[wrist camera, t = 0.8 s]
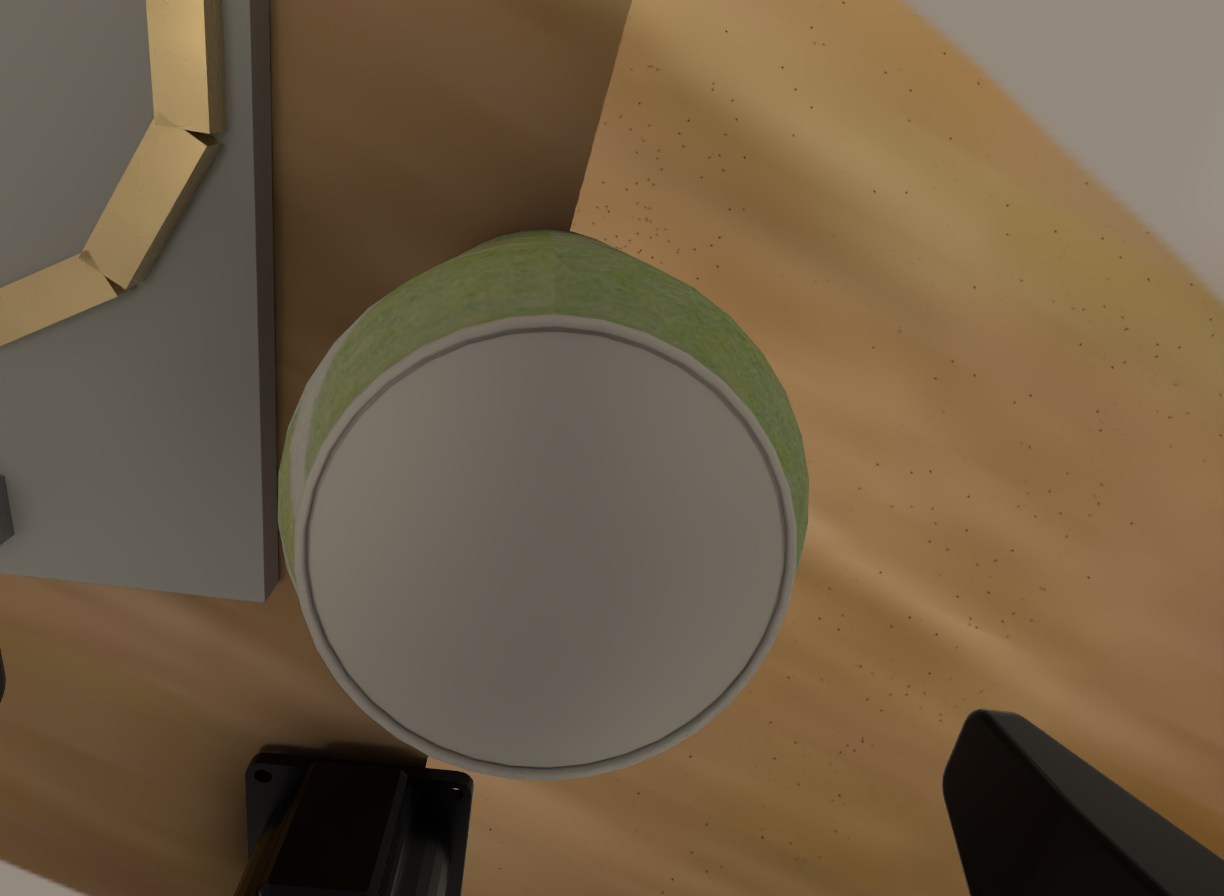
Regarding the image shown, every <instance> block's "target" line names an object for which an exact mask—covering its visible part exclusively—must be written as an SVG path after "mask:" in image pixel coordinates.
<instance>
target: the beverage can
mask: <svg viewBox="0 0 1224 896" xmlns="http://www.w3.org/2000/svg"><path fill="white" fill-rule="evenodd" d="M808 490H809V478H808V472H807V466H806V459H805V453H804V447H803V441H802V435H801V433H800V430H799V427H798V424H797V422H796V419H795V416H794V413H793V411H792V408H791V405H790V402H789V400H788V397H787V394H786V391H785V390H784V388H783V386H782V385H781V383H780V381H779V380H778V378H777V376H776V375H775V373H774V371H773V370H772V368H771V366H770V365H769V363H768V361H767V359H766V358H765V356H764V354H763V353H762V352H761V351H760V349H759V348H758V347H757V346H756V345H755V344H754V343H753V341H752V340H751V339H750V338H749V337H748V336H747V335H746V333H745V332H744V331H743V330H742V329H741V328H740V327H739V325H738V324H737V323H736V322H735V321H734V320H733V319H732V317H730V316H729V315H728V314H727V313H725V312H724V311H723V310H722V309H720V308H719V307H718V306H716V305H715V304H714V303H713V302H711V301H710V300H709V299H708V298H706V297H705V296H704V295H702V294H701V293H700V292H699V291H697V290H696V289H695V288H693V287H691V286H690V285H688V284H686V283H684V282H682V281H680V280H678V279H676V278H674V277H672V276H671V275H669V274H667V273H665V272H663V271H661V270H659V269H657V268H655V267H653V266H652V265H649V264H647V263H645V262H643V261H641V260H639V259H637V258H635V257H633V256H630V255H628V254H626V253H624V252H622V251H620V250H618V249H616V248H614V247H611V246H609V245H607V244H605V243H603V242H601V241H599V240H597V239H594V238H591V237H587V236H584V235H581V234H578V233H575V232H570V231H562V230H554V229H533V230H521V231H517V232H513V233H509V234H505V235H500V236H498V237H495V238H493V239H491V240H489V241H486V242H484V243H482V244H479V245H477V246H475V247H473V248H471V249H469V250H467V251H465V252H463V253H461V254H459V255H457V256H455V257H453V258H451V259H449V260H447V261H445V262H443V263H441V264H439V265H437V266H435V267H433V268H431V269H429V270H427V271H426V272H424V273H422V274H420V275H418V276H416V277H414V278H412V279H410V280H408V281H407V282H405V283H404V284H402V285H401V286H399V287H398V288H397V289H395V290H394V291H392V292H391V293H389V294H388V295H386V296H385V297H383V298H382V299H381V300H379V301H378V302H376V303H375V304H373V305H372V306H370V307H369V308H368V309H367V310H366V311H365V312H364V313H363V314H362V315H361V316H360V317H359V318H358V319H357V320H356V321H355V322H354V323H353V324H352V325H351V326H350V327H349V328H348V329H347V330H346V331H345V332H344V333H343V334H342V335H341V336H340V337H339V338H338V339H337V340H336V341H335V342H334V343H333V345H332V346H331V348H330V349H329V351H328V352H327V354H326V355H325V357H324V358H323V360H322V361H321V363H320V364H319V366H318V367H317V369H316V370H315V372H314V373H313V375H312V376H311V378H310V379H309V381H308V382H307V384H306V386H305V389H304V391H303V393H302V396H301V398H300V400H299V403H298V405H297V408H296V410H295V412H294V415H293V417H292V419H291V422H290V424H289V427H288V430H287V435H286V440H285V445H284V450H283V454H282V459H281V464H280V469H279V473H278V524H279V530H280V536H281V541H282V547H283V552H284V558H285V563H286V567H287V570H288V573H289V575H290V578H291V580H292V583H293V586H294V588H295V591H296V593H297V596H298V599H299V601H300V605H301V610H302V613H303V615H304V618H305V620H306V623H307V626H308V628H309V631H310V634H311V636H312V639H313V641H314V644H315V647H316V649H317V650H318V652H319V654H320V655H321V657H322V658H323V660H324V662H325V663H326V665H327V667H328V668H329V670H330V671H331V673H332V675H333V676H334V678H335V680H336V681H337V683H338V684H339V685H340V686H341V687H342V688H343V689H344V690H345V692H346V693H347V694H348V695H349V696H350V697H351V698H352V699H353V701H354V702H355V703H356V704H357V705H358V706H359V707H360V708H361V709H362V711H363V712H364V713H366V714H367V715H368V716H369V717H371V718H372V719H373V720H374V721H376V722H377V723H378V724H379V725H381V726H382V727H383V728H384V729H386V730H387V731H388V732H389V733H391V734H392V735H393V736H394V737H396V738H397V739H399V740H401V741H403V742H405V743H406V744H408V745H410V746H412V747H414V748H415V749H417V750H419V751H421V752H423V753H424V754H426V755H428V756H430V757H432V758H435V759H438V760H440V761H443V762H446V763H448V764H451V765H454V766H457V767H459V768H462V769H465V770H468V771H472V772H477V773H482V774H487V775H492V776H497V777H502V778H507V779H522V780H543V781H551V780H561V779H571V778H581V777H590V776H594V775H598V774H602V773H606V772H610V771H614V770H618V769H622V768H625V767H629V766H631V765H633V764H636V763H638V762H641V761H643V760H645V759H648V758H650V757H653V756H655V755H658V754H660V753H662V752H665V751H666V750H668V749H669V748H671V747H673V746H674V745H676V744H678V743H679V742H681V741H683V740H684V739H686V738H688V737H689V736H691V735H693V734H694V733H696V732H698V731H699V730H700V729H701V728H702V727H704V726H705V725H706V724H707V723H708V722H710V721H711V720H712V719H713V718H714V717H716V716H717V715H718V714H719V713H720V712H721V711H723V710H724V709H725V708H726V707H727V706H728V705H729V704H730V703H731V702H732V701H733V700H734V698H735V697H736V696H737V695H738V694H739V693H740V692H741V690H742V689H743V688H744V687H745V686H746V685H747V683H748V682H749V681H750V680H751V679H752V678H753V676H754V675H755V673H756V672H757V670H758V668H759V667H760V665H761V664H762V662H763V660H764V659H765V657H766V655H767V654H768V652H769V650H770V649H771V647H772V645H773V644H774V642H775V639H776V637H777V634H778V632H779V629H780V627H781V624H782V622H783V619H784V616H785V614H786V611H787V609H788V606H789V601H790V596H791V591H792V586H793V581H794V578H795V576H796V573H797V571H798V568H799V564H800V559H801V554H802V549H803V544H804V540H805V535H806V530H807V525H808Z"/></svg>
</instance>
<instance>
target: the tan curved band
mask: <svg viewBox="0 0 1224 896" xmlns="http://www.w3.org/2000/svg"><path fill="white" fill-rule="evenodd" d="M146 10H147V24H148V38H149V52H150V66H151V80H152V94H153V108H154V118H153V120H152V122H151V124H150V126H149V128H148V129H147V131H146V133H145V135H144V137H143V139H142V141H141V142H140V144H139V146H138V148H137V150H136V152H135V154H134V156H133V157H132V159H131V161H130V163H129V165H128V167H127V169H126V170H125V172H124V174H123V176H122V178H121V180H120V182H119V184H118V185H117V187H116V189H115V191H114V193H113V195H112V197H111V198H110V200H109V202H108V204H107V206H106V208H105V210H104V211H103V213H102V215H101V217H100V219H99V221H98V223H97V225H96V226H95V228H94V230H93V232H92V234H91V236H90V238H89V239H88V241H87V243H86V245H85V247H84V249H83V251H82V252H81V253H80V254H77V255H75V256H73V257H71V258H68V259H66V260H64V261H61V262H59V263H57V264H55V265H52V266H50V267H48V268H45V269H43V270H41V271H38V272H36V273H34V274H32V275H29V276H27V277H25V278H22V279H20V280H18V281H16V282H13V283H11V284H9V285H6V286H4V287H2V288H0V346H2V345H4V344H7V343H9V342H11V341H14V340H16V339H18V338H21V337H23V336H25V335H28V334H30V333H33V332H35V331H37V330H40V329H42V328H44V327H47V326H49V325H51V324H54V323H56V322H58V321H61V320H63V319H66V318H68V317H70V316H73V315H75V314H77V313H80V312H82V311H84V310H87V309H89V308H91V307H94V306H96V305H99V304H101V303H103V302H106V301H108V300H110V299H113V298H115V297H117V296H120V295H122V294H124V293H126V292H128V291H131V290H133V289H135V288H137V284H139V283H141V282H143V281H145V280H146V279H147V277H148V275H149V273H150V272H151V270H152V268H153V267H154V265H155V263H156V261H157V260H158V258H159V256H160V254H161V253H162V251H163V249H164V247H165V246H166V244H167V242H168V240H169V239H170V237H171V235H172V233H173V232H174V230H175V228H176V227H177V225H178V223H179V221H180V220H181V218H182V216H183V214H184V213H185V211H186V209H187V207H188V206H189V204H190V202H191V200H192V199H193V197H194V195H195V193H196V192H197V190H198V188H199V187H200V185H201V183H202V181H203V180H204V178H205V176H206V174H207V173H208V171H209V169H210V167H211V166H212V164H213V162H214V160H215V159H216V157H217V155H218V154H219V152H220V150H221V148H222V147H223V145H224V143H223V142H222V141H220V140H219V139H218V138H216V137H215V136H214V135H212V134H211V133H219V132H226V131H227V116H226V89H225V62H224V35H223V9H222V0H146ZM14 534H15V533H14V527H13V521H12V515H11V510H10V504H9V498H8V492H7V486H6V480H5V476H3V475H0V545H2V544H3V543H4V542H5V541H7V540H8V539H9V538H11V537H12V536H13V535H14Z"/></svg>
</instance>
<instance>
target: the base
mask: <svg viewBox="0 0 1224 896" xmlns="http://www.w3.org/2000/svg"><path fill="white" fill-rule="evenodd" d="M222 9H223V35H224V62H225V89H226V116H227V131H226V132H219V133H211V134H212V135H214V136H215V137H216V138H218V139H219V140H220V141H222V142H223V143H224V145H223V147H222V148H221V150H220V152H219V154H218V155H217V157H216V159H215V160H214V162H213V164H212V166H211V167H210V169H209V171H208V173H207V174H206V176H205V178H204V180H203V181H202V183H201V185H200V187H199V188H198V190H197V192H196V193H195V195H194V197H193V199H192V200H191V202H190V204H189V206H188V207H187V209H186V211H185V213H184V214H183V216H182V218H181V220H180V221H179V223H178V225H177V227H176V228H175V230H174V232H173V233H172V235H171V237H170V239H169V240H168V242H167V244H166V246H165V247H164V249H163V251H162V253H161V254H160V256H159V258H158V260H157V261H156V263H155V265H154V267H153V268H152V270H151V272H150V273H149V275H148V277H147V279H146V280H145V281H143V282H141V283H139V284H137V288H135V289H133V290H131V291H128V292H126V293H124V294H122V295H120V296H117V297H115V298H113V299H110V300H108V301H106V302H103V303H101V304H99V305H96V306H94V307H91V308H89V309H87V310H84V311H82V312H80V313H77V314H75V315H73V316H70V317H68V318H66V319H63V320H61V321H58V322H56V323H54V324H51V325H49V326H47V327H44V328H42V329H40V330H37V331H35V332H33V333H30V334H28V335H25V336H23V337H21V338H18V339H16V340H14V341H11V342H9V343H7V344H4V345H2V346H0V475H3V476H5V480H6V486H7V492H8V498H9V504H10V510H11V515H12V521H13V527H14V533H15V534H14V535H13V536H12V537H11V538H9V539H8V540H7V541H5V542H4V543H3V544H2V545H0V573H3V574H12V575H21V576H29V577H38V578H47V579H56V580H65V581H74V582H83V583H92V584H101V585H110V586H119V587H128V588H136V589H145V590H154V591H163V592H172V593H181V594H190V595H199V596H208V597H217V598H226V599H235V600H243V601H252V602H261V603H265V602H266V600H267V599H268V597H269V595H270V594H271V592H272V591H273V589H274V587H275V586H276V584H277V583H278V581H279V570H278V509H277V449H276V388H275V327H274V267H273V206H272V145H271V85H270V24H269V0H222ZM153 118H154V108H153V94H152V80H151V66H150V52H149V38H148V24H147V10H146V0H0V288H2V287H4V286H6V285H9V284H11V283H13V282H16V281H18V280H20V279H22V278H25V277H27V276H29V275H32V274H34V273H36V272H38V271H41V270H43V269H45V268H48V267H50V266H52V265H55V264H57V263H59V262H61V261H64V260H66V259H68V258H71V257H73V256H75V255H77V254H80V253H81V252H82V251H83V249H84V247H85V245H86V243H87V241H88V239H89V238H90V236H91V234H92V232H93V230H94V228H95V226H96V225H97V223H98V221H99V219H100V217H101V215H102V213H103V211H104V210H105V208H106V206H107V204H108V202H109V200H110V198H111V197H112V195H113V193H114V191H115V189H116V187H117V185H118V184H119V182H120V180H121V178H122V176H123V174H124V172H125V170H126V169H127V167H128V165H129V163H130V161H131V159H132V157H133V156H134V154H135V152H136V150H137V148H138V146H139V144H140V142H141V141H142V139H143V137H144V135H145V133H146V131H147V129H148V128H149V126H150V124H151V122H152V120H153Z"/></svg>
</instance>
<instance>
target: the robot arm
mask: <svg viewBox="0 0 1224 896" xmlns="http://www.w3.org/2000/svg"><path fill="white" fill-rule="evenodd" d="M5 682H6V677H5V670H4V665H3V660H2V655H1V649H0V702H1V700H2V697H3V694H4V690H5ZM263 770H266V771H268V772H266V771H263ZM245 780H246V804H247V828H248V852H249V862H248V864H247V867H246V869H245V871H244V874H243V876H242V878H241V880H240V883H239V885H238V887H237V889H236V892H235V894H234V896H461V891H462V882H463V873H464V865H465V856H466V847H467V838H468V830H469V821H470V812H471V804H472V795H473V786H474V784H473V780H472V778H471V777H470V776H469V775H467V774H466V773H463V772H459V771H451V770H441V769H430V768H420V767H410V766H399V765H389V764H379V763H369V762H358V761H348V760H338V759H327V758H317V757H307V756H296V755H286V754H276V753H260V754H257V755H255V756H254V757H253V758H252V760H251V762H250V764H249V766H248V768H247V770H246V774H245ZM942 787H943V796H944V800H945V804H946V808H947V812H948V815H949V819H950V823H951V827H952V830H953V834H954V838H955V842H956V845H957V849H958V853H959V856H960V860H961V864H962V868H963V871H964V875H965V879H966V883H967V886H968V890H969V894H970V896H1224V860H1223V859H1221V858H1220V857H1218V856H1217V855H1216V854H1214V853H1213V852H1211V851H1210V850H1209V849H1207V848H1206V847H1204V846H1203V845H1202V844H1200V843H1199V842H1197V841H1196V840H1195V839H1193V838H1192V837H1190V836H1189V835H1188V834H1186V833H1185V832H1183V831H1182V830H1181V829H1179V828H1178V827H1176V826H1175V825H1174V824H1172V823H1171V822H1169V821H1168V820H1167V819H1165V818H1164V817H1162V816H1161V815H1160V814H1158V813H1157V812H1155V811H1154V810H1153V809H1151V808H1150V807H1148V806H1147V805H1146V804H1144V803H1143V802H1141V801H1140V800H1139V799H1137V798H1136V797H1134V796H1133V795H1132V794H1130V793H1129V792H1127V791H1126V790H1125V789H1123V788H1122V787H1121V786H1119V785H1118V784H1116V783H1115V782H1114V781H1112V780H1111V779H1109V778H1108V777H1107V776H1105V775H1104V774H1102V773H1101V772H1100V771H1098V770H1097V769H1095V768H1094V767H1093V766H1091V765H1090V764H1088V763H1087V762H1086V761H1084V760H1083V759H1081V758H1080V757H1079V756H1077V755H1076V754H1074V753H1073V752H1072V751H1070V750H1069V749H1067V748H1066V747H1065V746H1063V745H1062V744H1060V743H1059V742H1058V741H1056V740H1055V739H1053V738H1052V737H1051V736H1049V735H1048V734H1046V733H1045V732H1044V731H1042V730H1041V729H1039V728H1038V727H1037V726H1035V725H1034V724H1032V723H1031V722H1030V721H1028V720H1027V719H1025V718H1024V717H1022V716H1021V715H1019V714H1016V713H1013V712H1007V711H997V710H988V709H978V710H974V711H973V712H971V713H970V714H969V715H968V716H967V718H966V720H965V722H964V724H963V727H962V729H961V732H960V734H959V736H958V739H957V741H956V743H955V746H954V748H953V751H952V753H951V755H950V758H949V760H948V762H947V765H946V767H945V770H944V774H943V785H942ZM452 788H457V789H460V790H455V789H452Z"/></svg>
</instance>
